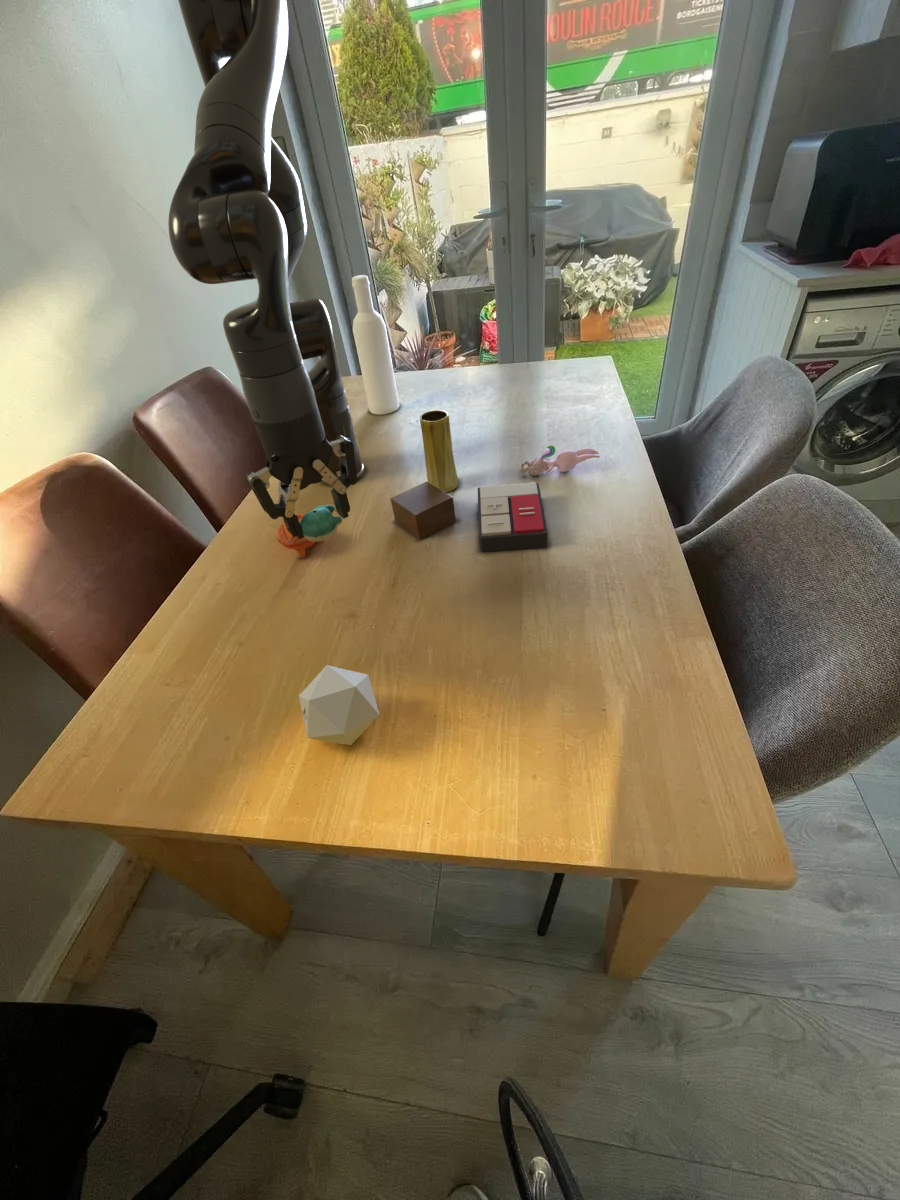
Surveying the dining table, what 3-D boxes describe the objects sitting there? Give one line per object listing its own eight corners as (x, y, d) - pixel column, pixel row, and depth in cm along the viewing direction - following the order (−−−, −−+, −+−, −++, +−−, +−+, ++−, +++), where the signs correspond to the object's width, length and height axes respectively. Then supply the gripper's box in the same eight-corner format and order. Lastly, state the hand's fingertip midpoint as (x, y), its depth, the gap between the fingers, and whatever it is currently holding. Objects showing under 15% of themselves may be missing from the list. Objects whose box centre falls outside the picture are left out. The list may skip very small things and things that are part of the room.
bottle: (398, 413, 138) (374, 278, 119) (367, 416, 139) (339, 282, 119) (401, 400, 144) (378, 270, 125) (371, 404, 145) (344, 274, 125)
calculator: (478, 534, 88) (477, 483, 99) (480, 555, 91) (478, 503, 102) (547, 529, 87) (538, 478, 98) (547, 550, 90) (538, 498, 101)
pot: (271, 559, 95) (262, 522, 92) (297, 542, 102) (290, 507, 99) (310, 564, 93) (302, 525, 90) (334, 546, 99) (328, 510, 96)
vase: (455, 493, 106) (447, 422, 97) (424, 493, 107) (413, 423, 98) (461, 477, 110) (453, 408, 101) (431, 477, 112) (421, 409, 102)
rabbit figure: (524, 487, 107) (603, 470, 104) (518, 460, 103) (600, 441, 100) (522, 472, 112) (597, 455, 109) (517, 445, 108) (594, 427, 105)
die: (331, 694, 72) (273, 683, 64) (384, 663, 69) (330, 648, 61) (346, 756, 68) (286, 753, 60) (402, 726, 66) (348, 719, 57)
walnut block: (395, 522, 101) (390, 498, 97) (430, 504, 104) (426, 481, 101) (419, 539, 96) (415, 515, 92) (456, 521, 99) (453, 496, 95)
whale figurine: (296, 546, 73) (287, 523, 70) (308, 515, 78) (301, 492, 76) (339, 544, 72) (332, 520, 70) (348, 512, 78) (342, 489, 75)
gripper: (324, 378, 69) (354, 494, 80) (213, 417, 63) (261, 536, 74) (353, 394, 64) (380, 515, 75) (235, 437, 58) (283, 561, 70)
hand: (321, 525), depth 75 cm, fingers closed on whale figurine, 6 cm apart
